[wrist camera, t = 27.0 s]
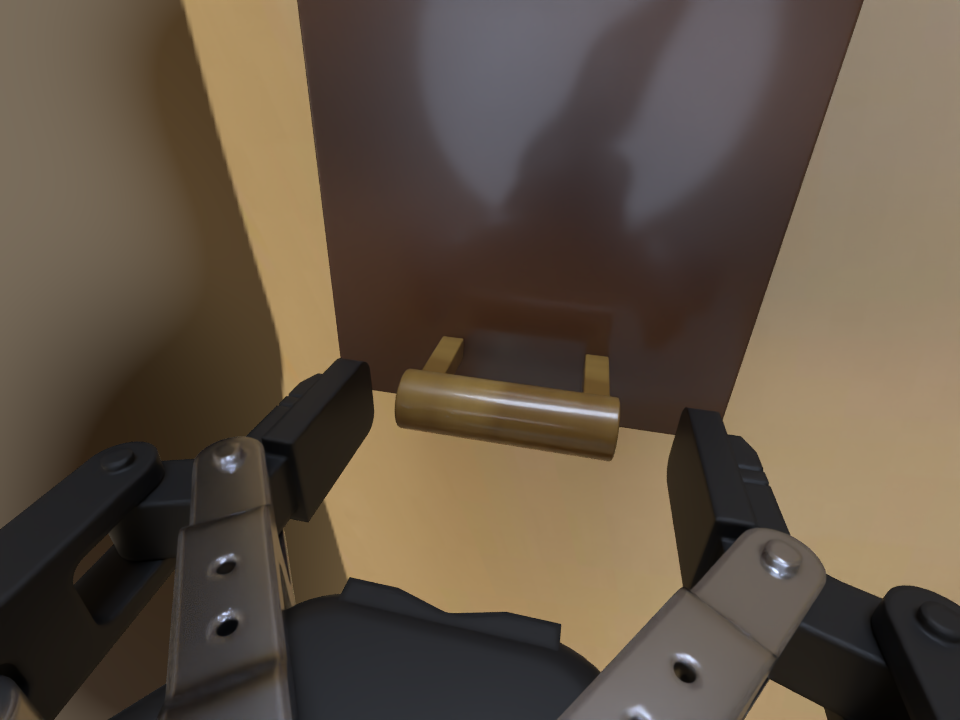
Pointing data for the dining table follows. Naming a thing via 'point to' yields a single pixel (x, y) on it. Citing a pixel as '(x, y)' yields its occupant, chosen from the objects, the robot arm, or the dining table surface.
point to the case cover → (560, 200)
